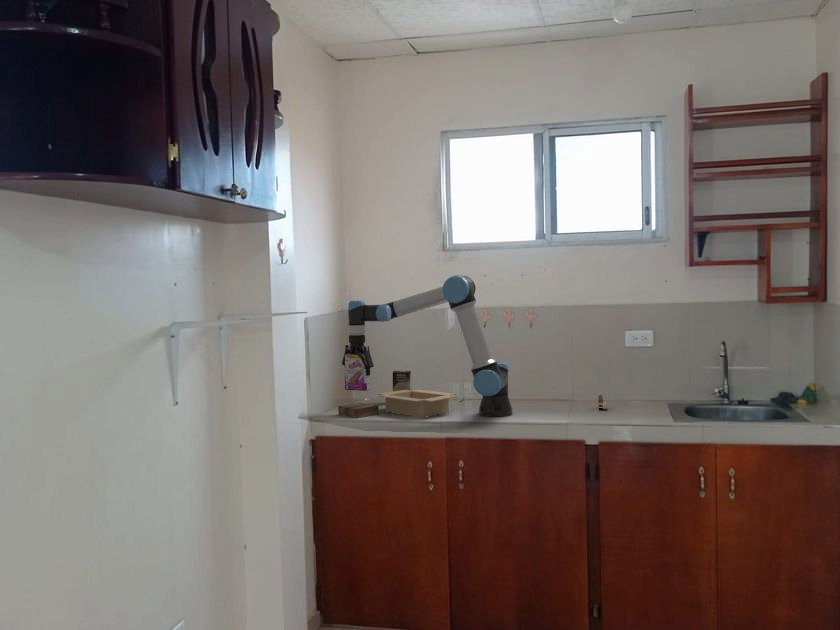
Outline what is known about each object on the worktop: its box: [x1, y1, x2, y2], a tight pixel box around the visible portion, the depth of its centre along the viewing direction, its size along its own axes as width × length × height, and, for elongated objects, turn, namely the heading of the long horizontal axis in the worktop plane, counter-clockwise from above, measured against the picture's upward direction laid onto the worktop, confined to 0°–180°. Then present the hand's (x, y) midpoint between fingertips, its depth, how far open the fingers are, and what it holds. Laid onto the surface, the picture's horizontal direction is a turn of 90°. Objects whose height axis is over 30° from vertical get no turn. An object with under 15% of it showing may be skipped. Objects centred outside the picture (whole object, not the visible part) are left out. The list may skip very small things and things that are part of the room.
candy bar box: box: [344, 354, 372, 392], centre depth 345 cm, size 11×5×16 cm, turn 70°
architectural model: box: [597, 393, 607, 409], centre depth 348 cm, size 3×7×7 cm, turn 164°
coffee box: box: [392, 370, 412, 392], centre depth 376 cm, size 9×6×16 cm
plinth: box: [337, 402, 380, 419], centre depth 346 cm, size 13×13×4 cm
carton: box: [378, 389, 458, 418], centre depth 349 cm, size 34×26×8 cm
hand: (357, 381), depth 345 cm, fingers closed on candy bar box, 12 cm apart
